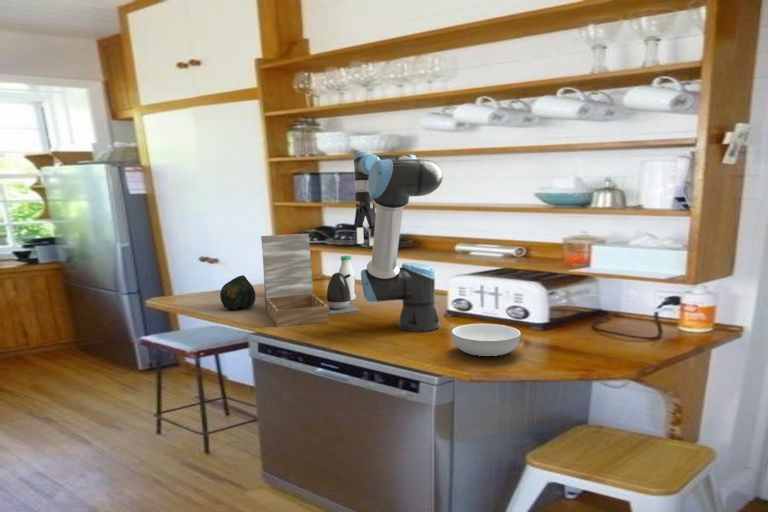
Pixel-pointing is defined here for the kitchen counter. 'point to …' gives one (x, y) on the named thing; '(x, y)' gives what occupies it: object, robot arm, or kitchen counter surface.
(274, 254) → the box
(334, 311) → the slate mat
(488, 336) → the serving bowl
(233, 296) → the squash
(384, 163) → the robot arm
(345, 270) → the milk bottle
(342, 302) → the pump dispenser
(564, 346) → the kitchen counter surface
